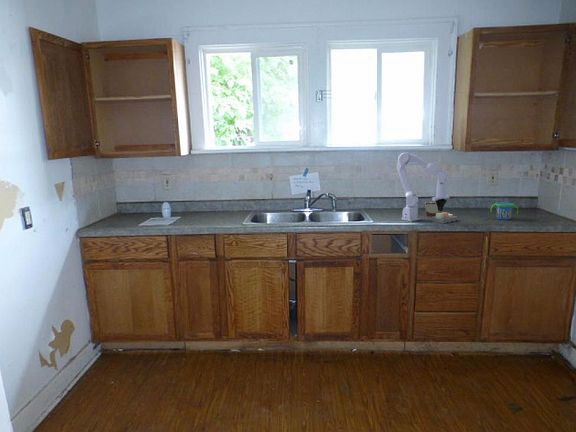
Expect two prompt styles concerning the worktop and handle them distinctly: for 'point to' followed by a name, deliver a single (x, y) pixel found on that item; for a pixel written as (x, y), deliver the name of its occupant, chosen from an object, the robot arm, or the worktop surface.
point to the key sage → (439, 215)
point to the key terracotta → (445, 214)
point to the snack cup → (504, 210)
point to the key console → (444, 219)
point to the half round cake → (431, 208)
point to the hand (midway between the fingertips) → (440, 210)
